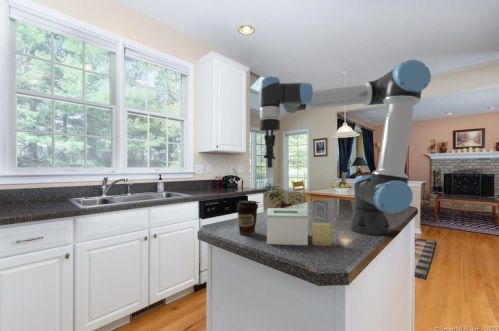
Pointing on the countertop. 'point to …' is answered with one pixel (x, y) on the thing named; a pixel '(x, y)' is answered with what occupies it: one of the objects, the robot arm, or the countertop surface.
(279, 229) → the coin box
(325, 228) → the pale yellow block
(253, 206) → the coffee cup
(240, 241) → the countertop surface
